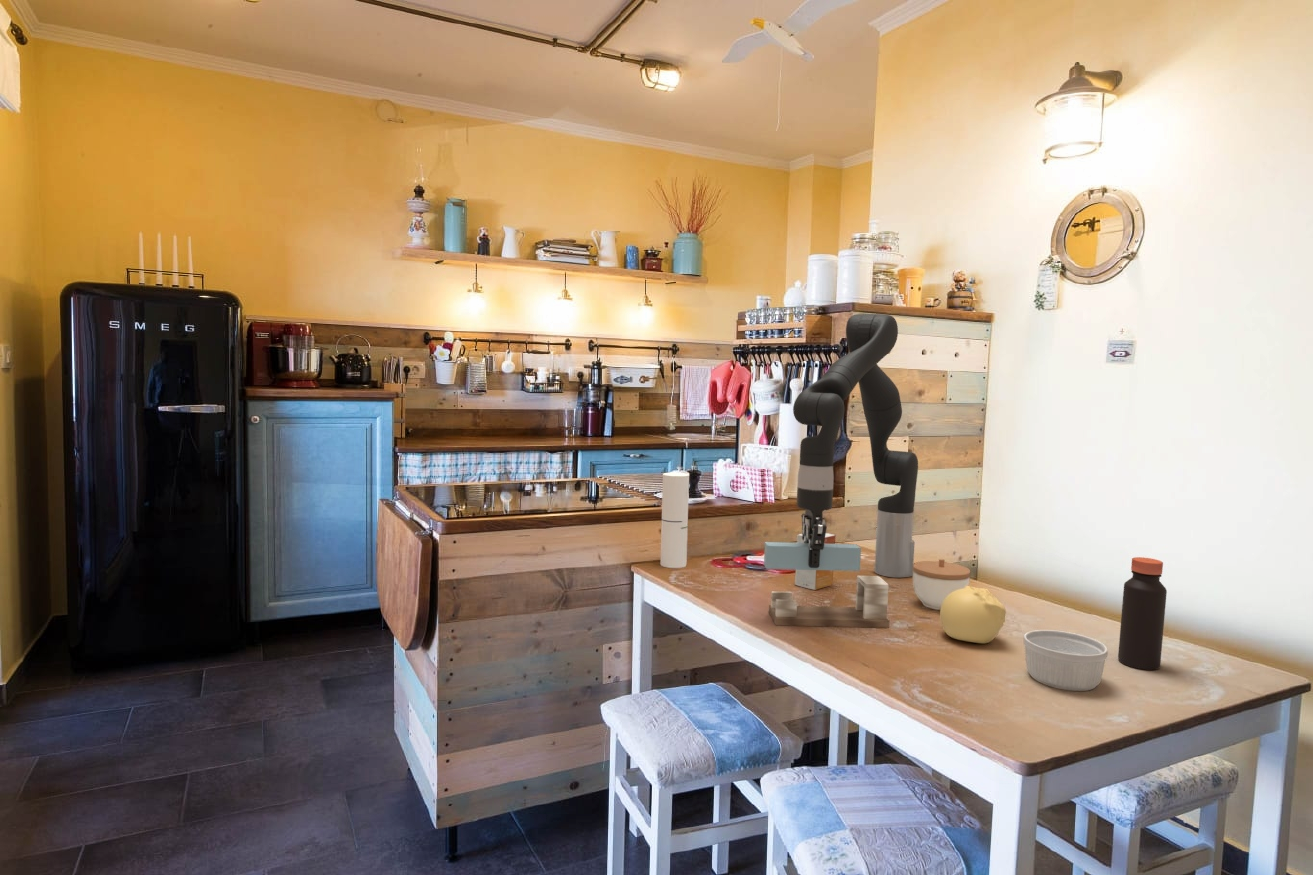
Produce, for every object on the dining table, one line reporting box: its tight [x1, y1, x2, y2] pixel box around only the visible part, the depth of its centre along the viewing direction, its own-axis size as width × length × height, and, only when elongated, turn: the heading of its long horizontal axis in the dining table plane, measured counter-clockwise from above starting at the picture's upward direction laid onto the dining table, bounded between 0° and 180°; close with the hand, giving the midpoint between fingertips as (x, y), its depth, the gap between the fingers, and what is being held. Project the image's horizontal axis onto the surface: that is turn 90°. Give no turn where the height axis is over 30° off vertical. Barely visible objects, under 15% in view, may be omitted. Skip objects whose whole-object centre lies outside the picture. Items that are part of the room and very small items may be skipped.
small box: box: [794, 532, 836, 591], centre depth 192 cm, size 8×6×13 cm
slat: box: [763, 541, 862, 572], centre depth 164 cm, size 20×4×5 cm, turn 91°
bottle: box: [1117, 556, 1168, 671], centre depth 143 cm, size 7×7×20 cm
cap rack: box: [768, 575, 890, 629], centre depth 165 cm, size 24×9×9 cm, turn 91°
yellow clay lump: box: [939, 585, 1007, 644], centre depth 155 cm, size 11×12×11 cm
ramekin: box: [1022, 629, 1109, 692], centre depth 136 cm, size 13×13×7 cm
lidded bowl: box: [912, 558, 971, 611], centre depth 177 cm, size 13×13×11 cm
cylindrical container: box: [660, 472, 690, 569], centre depth 208 cm, size 7×7×25 cm
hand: (811, 564), depth 164 cm, fingers closed on slat, 3 cm apart
